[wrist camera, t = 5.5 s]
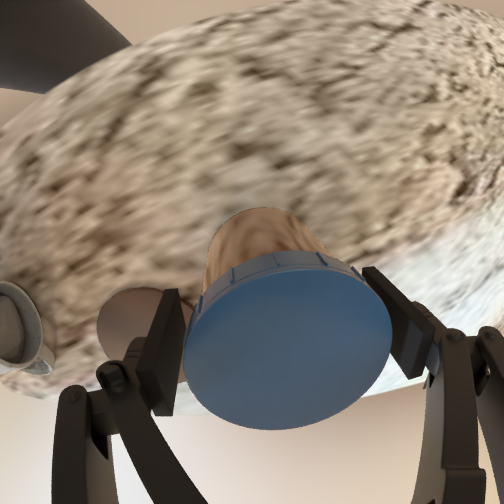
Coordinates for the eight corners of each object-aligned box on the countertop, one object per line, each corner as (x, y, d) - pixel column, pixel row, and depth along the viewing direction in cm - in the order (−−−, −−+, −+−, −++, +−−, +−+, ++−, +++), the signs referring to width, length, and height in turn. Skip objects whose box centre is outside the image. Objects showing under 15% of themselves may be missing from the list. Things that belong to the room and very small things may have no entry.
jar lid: (165, 379, 13) (159, 405, 12) (233, 214, 11) (235, 228, 9) (316, 414, 15) (323, 438, 13) (407, 290, 13) (427, 309, 11)
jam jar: (221, 194, 20) (216, 246, 10) (331, 223, 21) (407, 290, 11) (197, 298, 22) (181, 403, 13) (297, 317, 24) (334, 418, 14)
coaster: (99, 274, 21) (97, 276, 21) (223, 303, 23) (223, 306, 22) (99, 366, 24) (98, 369, 24) (200, 390, 26) (200, 393, 25)
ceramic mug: (-23, 296, 21) (-63, 335, 14) (10, 264, 20) (-41, 307, 13) (34, 372, 25) (7, 420, 17) (76, 355, 24) (47, 413, 17)
